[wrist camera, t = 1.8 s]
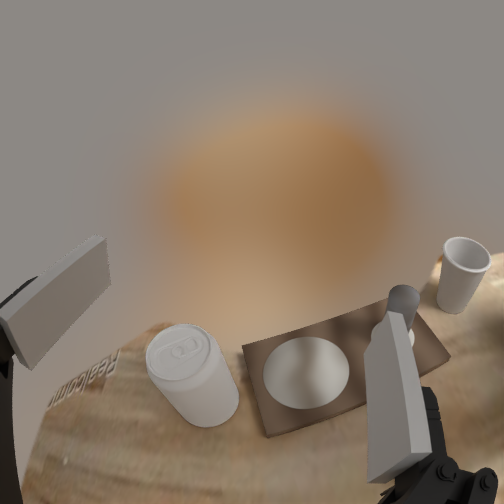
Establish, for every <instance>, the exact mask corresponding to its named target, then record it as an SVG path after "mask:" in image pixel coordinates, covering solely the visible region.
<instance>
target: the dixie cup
mask: <svg viewBox="0 0 504 504" xmlns="http://www.w3.org/2000/svg"><path fill="white" fill-rule="evenodd" d="M490 265H491V257H490V255H489V253H488V251H487V250H486V249H485V248H484V247H483V246H482V245H481V244H480V243H478V242H476V241H474V240H472V239H468V238H465V237H453V238H450V239H448V240H447V241H446V242H445V243H444V245H443V260H442V267H441V274H440V280H439V286H438V292H437V298H436V300H437V304H438V305H439V307H440V308H441V309H442V310H443V311H445V312H447V313H450V314H458V313H461V312H462V311H463V310H464V309H465V307H466V306H467V304H468V302H469V301H470V299H471V297H472V296H473V294H474V292H475V291H476V289H477V287H478V285H479V283H480V282H481V280H482V278H483V276H484V274H485V272H486V270H487V269H488V268H489V267H490Z"/></svg>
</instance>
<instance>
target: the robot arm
mask: <svg viewBox="0 0 504 504" xmlns="http://www.w3.org/2000/svg"><path fill="white" fill-rule="evenodd" d="M110 285H111V280H110V273H109V264H108V254H107V243H106V238H104V237H101V236H98V235H93V236H92V237H90V238H89V239H87V240H86V241H85V242H83V243H82V244H80V245H79V246H78V247H76V248H75V249H74V250H72V251H71V252H70V253H68V254H67V255H65V257H63V258H62V259H60V260H59V261H58V262H56V263H55V264H54V265H53V266H51V267H50V268H49V269H48V270H46V271H45V272H44V273H42V274H41V275H40V276H37V277H35V278H32V279H30V280H28V281H26V282H25V283H24V284H23V285H22V286H20V288H19V289H17V290H16V291H14V293H13V294H11V295H10V296H9V297H7V298H6V299H5V300H4V301H3V302H2V303H0V504H23V500H22V495H21V490H20V485H19V480H18V474H17V466H16V458H15V449H14V438H13V419H12V384H13V382H12V381H13V364H14V363H13V359H12V356H13V355H14V354H16V356H17V358H18V359H19V361H20V363H21V364H23V365H24V366H26V367H27V368H28V369H30V370H32V369H33V368H34V367H35V366H36V365H37V363H38V362H39V361H40V360H41V359H42V358H43V356H44V355H45V354H46V353H47V352H48V351H49V349H50V348H51V347H52V346H53V345H54V344H55V343H56V342H57V341H58V340H59V338H60V337H61V336H62V335H63V334H64V333H65V332H66V331H67V330H68V329H69V328H70V326H71V325H72V324H73V323H74V322H75V321H76V320H77V319H78V318H79V317H80V316H81V315H82V314H83V313H84V312H85V311H86V309H87V308H88V307H89V306H90V305H91V304H92V303H93V302H94V301H95V300H96V299H97V298H98V297H99V296H100V295H101V294H102V293H103V292H104V291H105V290H106V289H107V288H108V287H109V286H110ZM364 366H365V379H366V396H367V421H368V475H367V483H387V482H389V481H391V480H392V479H394V478H395V485H394V486H393V487H391V488H389V489H387V490H385V491H384V492H383V493H381V494H380V495H381V496H383V495H385V494H386V495H385V496H384V497H383V498H382V499H381V500H380V501H379V503H378V504H494V501H495V497H496V493H497V488H498V478H497V475H496V473H495V472H494V470H492V469H491V468H487V467H485V468H482V469H480V470H479V471H477V472H476V473H472V472H468V471H464V470H460V469H459V468H458V465H457V463H456V462H455V461H454V460H453V459H452V458H450V457H448V456H447V452H446V446H445V439H444V433H443V428H442V422H441V421H440V419H441V417H440V412H438V410H439V407H438V403H437V398H436V396H435V395H434V393H433V391H432V390H431V388H430V387H423V386H421V384H420V379H419V375H418V370H417V366H416V362H415V358H414V354H413V350H412V346H411V342H410V338H409V335H408V331H407V327H406V324H405V320H404V317H403V314H400V313H396V312H391V311H387V313H386V315H385V317H384V318H383V320H382V322H381V324H380V326H379V328H378V330H377V331H376V333H375V335H374V337H373V339H372V340H371V342H370V344H369V346H368V347H367V349H366V351H365V352H364Z"/></svg>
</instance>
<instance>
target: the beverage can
mask: <svg viewBox="0 0 504 504" xmlns="http://www.w3.org/2000/svg"><path fill="white" fill-rule="evenodd" d="M145 358H146V367H147V372H148V375H149V377H150V379H151V380H152V381H153V383H154V384H155V385H156V386H157V388H158V389H159V390H160V391H161V392H162V394H163V395H164V396H165V397H166V398H167V399H168V401H169V402H170V403H171V404H172V405H173V406H174V408H175V409H176V410H177V411H178V412H179V413H180V414H181V415H182V416H183V418H184V419H185V420H187V421H188V422H189V423H191V424H193V425H195V426H199V427H214V426H217V425H220V424H222V423H224V422H225V421H227V420H228V419H229V418H230V417H231V416H232V415H233V414H234V413H235V411H236V409H237V407H238V403H239V393H238V389H237V387H236V385H235V382H234V380H233V378H232V376H231V373H230V371H229V369H228V366H227V364H226V361H225V359H224V357H223V354H222V352H221V349H220V347H219V345H218V343H217V341H216V340H215V339H214V337H213V336H211V335H210V334H209V333H208V332H206V331H205V330H204V329H203V328H201V327H199V326H197V325H193V324H178V325H174V326H171V327H168V328H166V329H164V330H163V331H161V332H160V333H158V334H157V335H156V336H155V337H154V338H153V339H152V341H151V342H150V344H149V345H148V348H147V351H146V357H145Z"/></svg>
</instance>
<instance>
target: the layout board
mask: <svg viewBox="0 0 504 504" xmlns="http://www.w3.org/2000/svg"><path fill="white" fill-rule="evenodd" d="M419 301H420V295H419V293H418V292H417V290H415V289H414V288H413V287H411V286H407V285H397V286H395V287H393V288H392V289H391V290H390V293H389V297H388V298H386V299H384V300H381V301H378V302H376V303H373V304H371V305H368V306H365V307H363V308H360V309H357V310H354V311H351V312H349V313H346V314H343V315H340V316H337V317H334V318H331V319H329V320H326V321H323V322H320V323H317V324H314V325H310V326H307V327H304V328H301V329H298V330H294V331H291V332H288V333H285V334H282V335H278V336H274V337H271V338H268V339H264V340H261V341H257V342H253V343H250V344H246V345H242V349H243V353H244V356H245V360H246V364H247V368H248V371H249V375H250V378H251V382H252V386H253V389H254V393H255V396H256V400H257V403H258V407H259V410H260V414H261V417H262V421H263V424H264V428H265V431H266V435H267V437H268V438H270V437H273V436H277V435H281V434H284V433H287V432H291V431H294V430H297V429H300V428H303V427H306V426H309V425H312V424H315V423H318V422H321V421H324V420H327V419H329V418H332V417H335V416H337V415H340V414H343V413H345V412H348V411H350V410H352V409H355V408H357V407H360V406H362V405H364V404H367V396H366V379H365V366H364V352H365V351H366V349H367V347H368V346H369V344H370V342H371V340H372V339H373V337H374V335H375V333H376V331H377V330H378V328H379V326H380V324H381V322H382V320H383V318H384V317H385V315H386V313H387V311H391V312H396V313H400V314H403V317H404V320H405V324H406V327H407V331H408V335H409V338H410V342H411V346H412V350H413V354H414V358H415V362H416V366H417V370H418V375H419V378H420V377H422V376H423V375H425V374H427V373H429V372H430V371H432V370H434V369H436V368H437V367H439V366H441V365H442V364H444V363H446V362H447V361H448V360H449V359H450V357H451V356H450V354H449V353H448V352H447V350H446V349H445V348H444V346H443V345H442V344H441V342H440V341H439V340H438V338H437V337H436V336H435V334H434V333H433V332H432V330H431V329H430V328H429V327H428V325H427V324H426V323H425V321H424V320H423V319H422V318H421V316H420V315H419V314H418V313H417V308H418V305H419Z"/></svg>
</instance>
